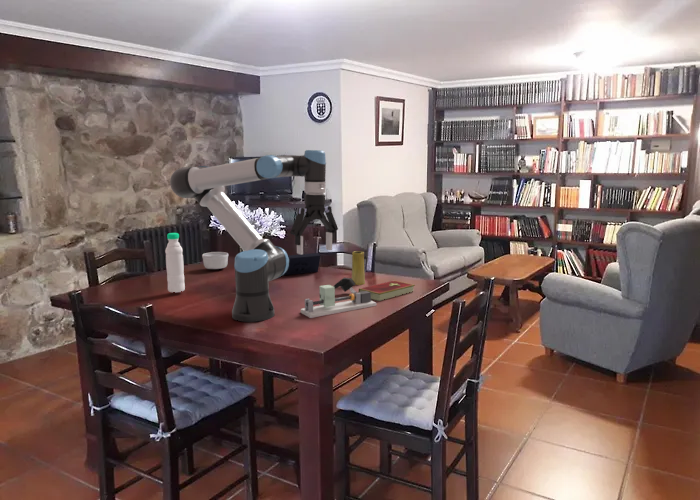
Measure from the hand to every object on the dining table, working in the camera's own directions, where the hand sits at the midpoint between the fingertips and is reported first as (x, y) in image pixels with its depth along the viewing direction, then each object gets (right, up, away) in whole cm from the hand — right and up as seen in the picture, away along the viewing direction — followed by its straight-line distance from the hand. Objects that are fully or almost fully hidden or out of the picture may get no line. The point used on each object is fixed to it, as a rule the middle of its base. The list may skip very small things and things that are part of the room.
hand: (314, 251), depth 200 cm
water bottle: (-62, -17, +35) cm, 73 cm away
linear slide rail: (+9, -22, +4) cm, 24 cm away
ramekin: (-57, -8, +85) cm, 103 cm away
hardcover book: (+28, -18, +25) cm, 42 cm away
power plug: (+5, -20, +29) cm, 35 cm away
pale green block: (+5, -20, +1) cm, 20 cm away
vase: (+17, -15, +45) cm, 51 cm away
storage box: (-14, -11, +71) cm, 74 cm away
